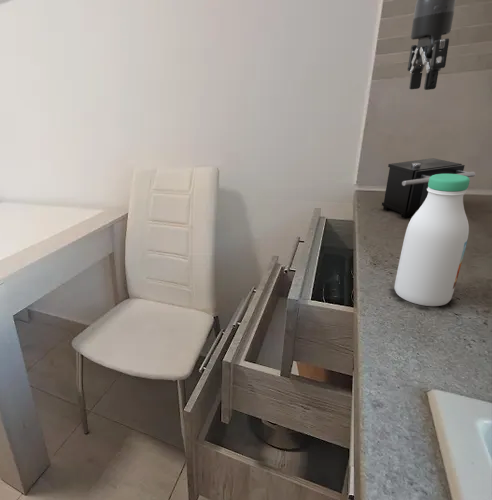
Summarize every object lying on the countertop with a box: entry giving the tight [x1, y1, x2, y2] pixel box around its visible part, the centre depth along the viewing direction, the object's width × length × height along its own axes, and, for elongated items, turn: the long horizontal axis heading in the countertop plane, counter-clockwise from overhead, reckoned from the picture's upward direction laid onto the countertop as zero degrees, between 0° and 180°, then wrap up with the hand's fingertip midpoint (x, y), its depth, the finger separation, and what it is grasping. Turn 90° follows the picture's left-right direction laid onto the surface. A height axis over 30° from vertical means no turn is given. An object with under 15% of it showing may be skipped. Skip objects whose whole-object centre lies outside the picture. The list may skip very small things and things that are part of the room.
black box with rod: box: [381, 157, 463, 219], centre depth 92 cm, size 8×12×13 cm
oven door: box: [402, 164, 476, 212], centre depth 85 cm, size 4×17×10 cm, turn 96°
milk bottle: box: [393, 174, 471, 307], centre depth 57 cm, size 8×8×20 cm
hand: (421, 89), depth 91 cm, fingers open, 8 cm apart
